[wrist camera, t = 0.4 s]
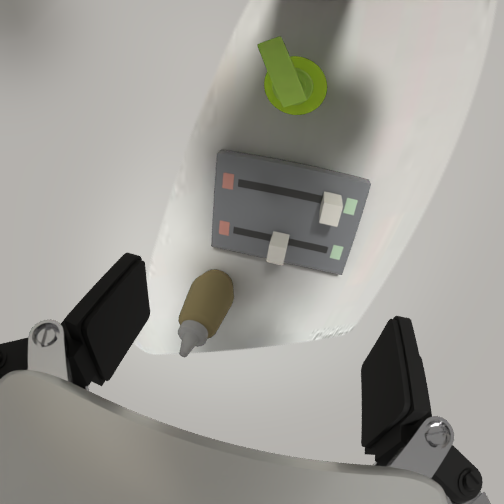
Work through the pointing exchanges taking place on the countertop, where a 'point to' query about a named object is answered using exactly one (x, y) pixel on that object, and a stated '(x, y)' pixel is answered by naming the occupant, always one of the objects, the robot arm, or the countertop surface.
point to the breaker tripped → (277, 248)
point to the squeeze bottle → (204, 309)
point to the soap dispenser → (291, 79)
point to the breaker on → (330, 209)
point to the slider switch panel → (284, 209)
